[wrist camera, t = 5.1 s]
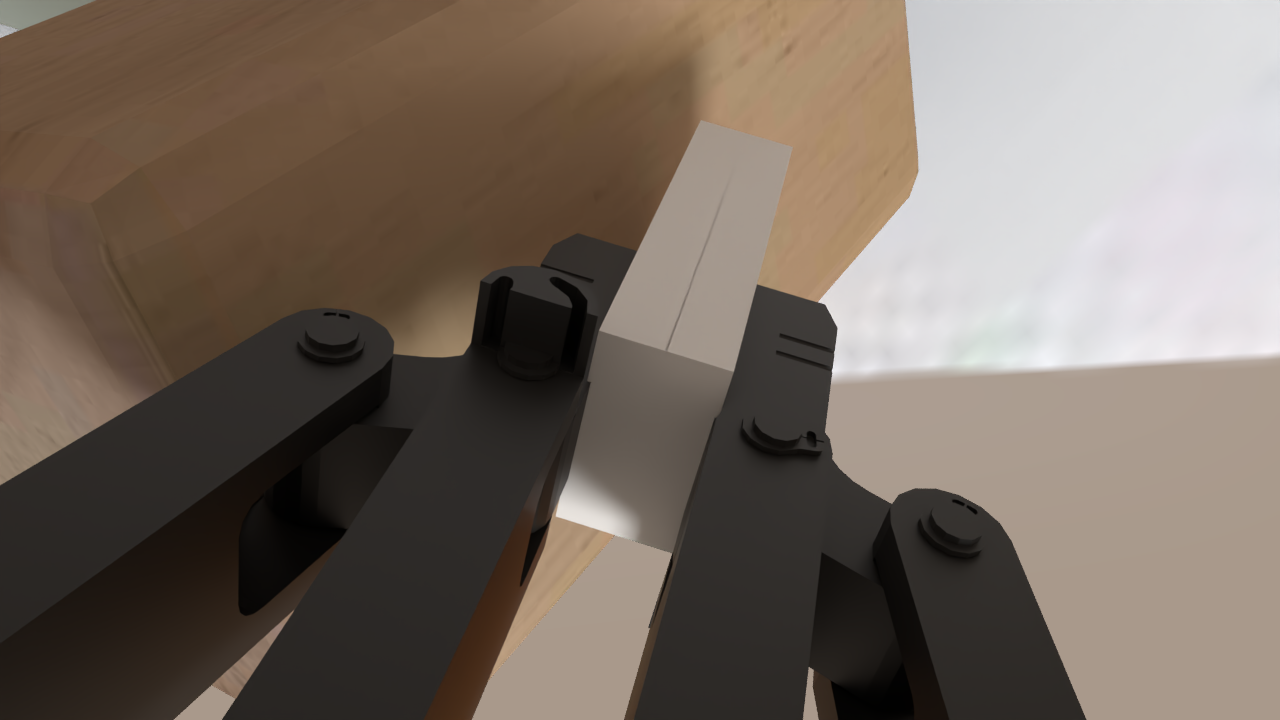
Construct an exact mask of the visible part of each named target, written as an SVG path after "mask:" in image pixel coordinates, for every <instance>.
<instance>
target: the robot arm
mask: <svg viewBox="0 0 1280 720" xmlns="http://www.w3.org/2000/svg"><path fill="white" fill-rule="evenodd" d="M792 148H793V147H791V146H788V145H784V144H781V143H777V142H774V141H771V140H767V139H764V138H760V137H757V136H754V135H750V134H747V133H743V132H740V131H736V130H733V129H730V128H726V127H723V126H719V125H716V124H712V123H709V122H706V121H702V120H701V121H700V123H699V125H698V127H697V129H696V131H695V133H694V135H693V137H692V139H691V141H690V144H689V146H688V148H687V150H686V152H685V154H684V156H683V158H682V160H681V162H680V164H679V166H678V168H677V170H676V172H675V175H674V177H673V179H672V181H671V183H670V185H669V187H668V189H667V191H666V193H665V195H664V197H663V199H662V201H661V203H660V205H659V208H658V210H657V212H656V214H655V216H654V218H653V220H652V222H651V224H650V226H649V228H648V230H647V232H646V234H645V236H644V238H643V241H642V243H641V245H640V247H639V249H638V251H636V250H632V249H629V248H626V247H622V246H619V245H616V244H612V243H609V242H606V241H602V240H599V239H596V238H592V237H589V236H586V235H582V234H579V233H577V234H575V235H573V236H570V237H568V238H566V239H564V240H562V241H560V242H558V243H556V244H554V245H553V246H552V247H551V249H550V250H549V252H548V253H547V255H546V257H545V258H544V260H543V261H542V263H541V266H540V267H536V266H510V267H506V268H502V269H499V270H495V271H492V272H491V273H490V274H488V275H487V276H486V277H485V278H483V279H482V280H481V281H480V287H479V294H478V300H477V307H476V313H475V319H474V326H473V332H472V339H471V344H470V345H469V347H468V348H467V350H466V351H465V353H464V354H463V355H459V356H451V357H420V356H410V355H400V354H393V352H394V340H393V339H392V337H391V335H390V334H389V332H388V330H387V329H386V328H385V327H384V326H382V325H381V324H379V323H378V322H376V321H375V320H374V319H372V318H371V317H368V316H365V315H362V314H359V313H356V312H353V311H350V310H342V309H333V308H319V309H310V310H302V311H299V312H297V313H294V314H292V315H289V316H286V317H284V318H282V319H280V320H278V321H277V322H275V323H273V324H272V325H270V326H268V327H267V328H265V329H263V330H261V331H260V332H258V333H256V334H255V335H253V336H251V337H250V338H248V339H246V340H245V341H243V342H241V343H239V344H238V345H236V346H234V347H233V348H231V349H229V350H228V351H226V352H224V353H223V354H221V355H219V356H218V357H216V358H214V359H212V360H211V361H209V362H207V363H206V364H204V365H202V366H201V367H199V368H197V369H196V370H194V371H192V372H191V373H189V374H187V375H185V376H184V377H182V378H180V379H179V380H177V381H175V382H174V383H172V384H170V385H169V386H167V387H165V388H163V389H162V390H160V391H158V392H157V393H155V394H153V395H152V396H150V397H148V398H147V399H145V400H143V401H142V402H140V403H138V404H136V405H135V406H133V407H131V408H130V409H128V410H126V411H125V412H123V413H121V414H120V415H118V416H116V417H114V418H113V419H111V420H109V421H108V422H106V423H104V424H103V425H101V426H99V427H98V428H96V429H94V430H93V431H91V432H89V433H87V434H86V435H84V436H82V437H81V438H79V439H77V440H76V441H74V442H72V443H71V444H69V445H67V446H66V447H64V448H62V449H60V450H59V451H57V452H55V453H54V454H52V455H50V456H49V457H47V458H45V459H44V460H42V461H40V462H38V463H37V464H35V465H33V466H32V467H30V468H28V469H27V470H25V471H23V472H22V473H20V474H18V475H17V476H15V477H13V478H11V479H10V480H8V481H6V482H5V483H3V484H1V485H0V720H174V719H175V718H176V717H177V716H178V715H179V714H180V713H181V712H182V711H183V710H185V709H186V708H187V707H188V706H189V705H190V704H191V703H192V702H193V701H194V700H196V699H197V698H198V697H199V696H200V695H201V694H202V693H203V692H204V691H205V690H206V689H208V688H209V687H210V686H211V685H212V684H213V683H214V682H215V681H216V680H218V679H219V678H220V677H221V676H222V675H223V674H224V673H225V672H226V671H227V670H229V669H230V668H231V667H232V666H233V665H234V664H235V663H236V662H237V661H238V660H240V659H241V658H242V657H243V656H244V655H245V654H246V653H247V652H248V651H249V650H250V649H252V648H253V647H254V646H255V645H256V644H257V643H258V642H259V641H260V640H261V639H263V638H264V637H265V636H266V635H267V634H268V633H269V632H270V631H271V630H272V629H274V628H275V627H276V626H277V625H278V624H279V623H280V622H281V621H282V620H283V619H285V618H286V617H287V616H288V615H289V614H290V613H291V612H292V611H293V610H294V609H295V610H294V611H293V613H292V614H291V616H290V618H289V619H288V621H287V622H286V624H285V625H284V627H283V628H282V630H281V631H280V633H279V634H278V636H277V637H276V639H275V640H274V642H273V643H272V645H271V646H270V648H269V649H268V651H267V652H266V654H265V655H264V657H263V658H262V660H261V661H260V663H259V664H258V666H257V667H256V669H255V670H254V672H253V674H252V675H251V677H250V678H249V680H248V681H247V683H246V684H245V686H244V687H243V689H242V690H241V692H240V693H239V695H238V696H237V698H236V699H235V701H234V703H233V704H232V705H231V707H230V709H229V710H228V711H227V713H226V715H225V716H224V717H223V719H222V720H472V718H473V715H474V713H475V711H476V708H477V706H478V704H479V701H480V699H481V696H482V694H483V692H484V689H485V687H486V685H487V682H488V680H489V678H490V675H491V673H492V670H493V668H494V666H495V663H496V661H497V659H498V656H499V654H500V651H501V649H502V647H503V644H504V642H505V640H506V637H507V635H508V633H509V630H510V628H511V625H512V623H513V621H514V618H515V616H516V614H517V611H518V609H519V607H520V604H521V602H522V599H523V597H524V595H525V592H526V590H527V588H528V585H529V583H530V580H531V578H532V576H533V573H534V571H535V569H536V566H537V564H538V562H539V559H540V557H541V554H542V552H543V550H544V547H545V544H546V540H547V535H548V531H549V527H550V522H551V518H552V514H553V512H554V510H555V507H556V505H557V503H558V501H559V504H558V508H557V512H556V517H559V518H563V519H566V520H569V521H572V522H575V523H578V524H581V525H585V526H588V527H591V528H594V529H597V530H600V531H604V532H607V533H610V534H613V535H616V536H619V537H623V538H626V539H629V540H632V541H635V542H638V543H641V544H645V545H648V546H651V547H654V548H657V549H660V550H664V551H667V552H670V553H672V556H671V559H670V562H669V566H668V569H667V572H666V575H665V578H664V581H663V584H662V587H661V590H660V594H659V597H658V600H657V602H656V606H655V609H654V612H653V615H652V618H651V621H650V624H649V628H650V630H649V633H648V637H647V641H646V644H645V648H644V651H643V655H642V658H641V662H640V665H639V669H638V672H637V676H636V679H635V683H634V686H633V690H632V693H631V697H630V701H629V704H628V708H627V711H626V715H625V719H624V720H803V712H804V704H805V695H806V694H805V693H806V686H807V676H808V667H810V668H812V669H813V670H814V676H813V690H814V695H815V701H816V706H817V712H818V718H819V720H1086V718H1085V715H1084V713H1083V711H1082V708H1081V706H1080V703H1079V701H1078V699H1077V696H1076V694H1075V692H1074V689H1073V687H1072V684H1071V682H1070V680H1069V677H1068V675H1067V672H1066V671H1065V668H1064V666H1063V663H1062V661H1061V658H1060V656H1059V654H1058V651H1057V649H1056V646H1055V644H1054V642H1053V639H1052V637H1051V634H1050V632H1049V630H1048V627H1047V625H1046V622H1045V620H1044V618H1043V615H1042V613H1041V611H1040V608H1039V606H1038V603H1037V601H1036V599H1035V596H1034V594H1033V592H1032V589H1031V587H1030V584H1029V582H1028V580H1027V577H1026V575H1025V572H1024V570H1023V568H1022V565H1021V563H1020V560H1019V558H1018V556H1017V553H1016V551H1015V549H1014V546H1013V544H1012V541H1011V540H1010V538H1009V537H1008V535H1007V534H1006V532H1005V531H1004V529H1003V527H1002V526H1001V525H1000V523H999V522H998V521H997V520H995V519H994V518H993V517H992V516H991V515H990V514H989V513H987V512H986V511H985V510H984V509H983V508H982V507H980V506H978V505H976V504H974V503H972V502H971V501H969V500H967V499H965V498H963V497H961V496H959V495H956V494H952V493H949V492H946V491H942V490H938V489H912V490H910V491H907V492H905V493H902V494H900V495H898V497H897V498H896V500H895V501H894V502H893V504H891V503H889V502H887V501H885V500H883V499H881V498H880V497H878V496H876V495H874V494H872V493H871V492H869V491H867V490H866V489H864V488H863V487H861V486H860V485H858V484H857V483H855V482H853V481H852V480H851V479H850V478H849V477H848V476H847V475H846V474H844V473H843V472H842V471H841V470H840V469H839V468H838V466H837V465H836V464H835V462H834V461H833V460H832V455H833V453H832V449H831V444H830V439H829V437H828V436H827V435H826V433H825V426H826V418H827V410H828V402H829V394H830V385H831V377H832V368H833V361H834V351H835V344H836V336H837V326H836V324H835V323H834V321H833V319H832V317H831V315H830V313H829V311H828V309H827V307H826V306H825V305H824V304H821V303H818V302H815V301H811V300H808V299H805V298H801V297H798V296H795V295H791V294H788V293H785V292H781V291H778V290H775V289H771V288H768V287H765V286H761V285H758V284H757V282H758V278H759V274H760V270H761V267H762V263H763V259H764V255H765V251H766V247H767V244H768V240H769V236H770V232H771V228H772V225H773V221H774V217H775V213H776V209H777V206H778V202H779V198H780V194H781V190H782V187H783V183H784V179H785V175H786V171H787V167H788V164H789V160H790V156H791V152H792ZM559 498H560V499H559Z"/></svg>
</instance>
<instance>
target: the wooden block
mask: <svg viewBox="0 0 1280 720" xmlns="http://www.w3.org/2000/svg"><path fill="white" fill-rule="evenodd" d="M701 120H702V121H706V122H709V123H712V124H716V125H719V126H723V127H726V128H730V129H733V130H736V131H740V132H743V133H747V134H750V135H754V136H757V137H760V138H764V139H767V140H771V141H774V142H777V143H781V144H784V145H788V146H791V147H793V148H792V152H791V156H790V160H789V164H788V167H787V171H786V175H785V179H784V183H783V187H782V190H781V194H780V198H779V202H778V206H777V209H776V213H775V217H774V221H773V225H772V228H771V232H770V236H769V240H768V244H767V247H766V251H765V255H764V259H763V263H762V267H761V270H760V274H759V278H758V282H757V284H758V285H761V286H765V287H768V288H771V289H775V290H778V291H781V292H785V293H788V294H791V295H795V296H798V297H801V298H805V299H808V300H811V301H815V302H818V301H819V300H820V299H821V298H822V296H823V295H824V294H825V293H826V292H827V291H828V289H829V288H830V287H831V286H832V285H833V284H834V283H835V281H836V280H837V279H838V278H839V277H840V276H841V275H842V273H843V272H844V271H845V270H846V269H847V268H848V266H849V265H850V264H851V263H852V262H853V261H854V260H855V258H856V257H857V256H858V255H859V254H860V253H861V252H862V250H863V249H864V248H865V247H866V246H867V245H868V243H869V242H870V241H871V240H872V239H873V238H874V237H875V235H876V234H877V233H878V232H879V231H880V230H881V229H882V227H883V226H884V225H885V224H886V223H887V222H888V221H889V219H890V218H891V217H892V216H893V215H894V214H895V212H896V211H897V210H898V209H899V208H900V207H901V206H902V204H903V203H904V202H905V201H906V200H907V199H908V198H909V196H910V193H911V191H912V188H913V185H914V182H915V179H916V177H917V174H918V151H917V139H916V127H915V115H914V103H913V91H912V79H911V67H910V55H909V43H908V31H907V19H906V7H905V0H96V1H93V2H91V3H88V4H86V5H83V6H80V7H78V8H75V9H73V10H70V11H68V12H65V13H63V14H60V15H58V16H55V17H53V18H50V19H47V20H45V21H42V22H40V23H37V24H35V25H32V26H30V27H27V28H25V29H22V30H20V31H17V32H14V33H12V34H9V35H7V36H4V37H2V38H0V485H1V484H3V483H5V482H6V481H8V480H10V479H11V478H13V477H15V476H17V475H18V474H20V473H22V472H23V471H25V470H27V469H28V468H30V467H32V466H33V465H35V464H37V463H38V462H40V461H42V460H44V459H45V458H47V457H49V456H50V455H52V454H54V453H55V452H57V451H59V450H60V449H62V448H64V447H66V446H67V445H69V444H71V443H72V442H74V441H76V440H77V439H79V438H81V437H82V436H84V435H86V434H87V433H89V432H91V431H93V430H94V429H96V428H98V427H99V426H101V425H103V424H104V423H106V422H108V421H109V420H111V419H113V418H114V417H116V416H118V415H120V414H121V413H123V412H125V411H126V410H128V409H130V408H131V407H133V406H135V405H136V404H138V403H140V402H142V401H143V400H145V399H147V398H148V397H150V396H152V395H153V394H155V393H157V392H158V391H160V390H162V389H163V388H165V387H167V386H169V385H170V384H172V383H174V382H175V381H177V380H179V379H180V378H182V377H184V376H185V375H187V374H189V373H191V372H192V371H194V370H196V369H197V368H199V367H201V366H202V365H204V364H206V363H207V362H209V361H211V360H212V359H214V358H216V357H218V356H219V355H221V354H223V353H224V352H226V351H228V350H229V349H231V348H233V347H234V346H236V345H238V344H239V343H241V342H243V341H245V340H246V339H248V338H250V337H251V336H253V335H255V334H256V333H258V332H260V331H261V330H263V329H265V328H267V327H268V326H270V325H272V324H273V323H275V322H277V321H278V320H280V319H282V318H284V317H286V316H289V315H292V314H294V313H297V312H299V311H302V310H310V309H319V308H333V309H342V310H350V311H353V312H356V313H359V314H362V315H365V316H368V317H371V318H372V319H374V320H375V321H376V322H378V323H379V324H381V325H382V326H384V327H385V328H386V329H387V330H388V332H389V334H390V335H391V337H392V339H393V340H394V352H393V354H400V355H410V356H420V357H451V356H459V355H463V354H464V353H465V351H466V350H467V348H468V347H469V345H470V344H471V339H472V332H473V326H474V319H475V313H476V307H477V300H478V294H479V287H480V281H481V280H482V279H483V278H485V277H486V276H487V275H488V274H490V273H491V272H492V271H495V270H499V269H502V268H506V267H510V266H536V267H540V266H541V263H542V261H543V260H544V258H545V257H546V255H547V253H548V252H549V250H550V249H551V247H552V246H553V245H554V244H556V243H558V242H560V241H562V240H564V239H566V238H568V237H570V236H573V235H575V234H577V233H579V234H582V235H586V236H589V237H592V238H596V239H599V240H602V241H606V242H609V243H612V244H616V245H619V246H622V247H626V248H629V249H632V250H636V251H638V249H639V247H640V245H641V243H642V241H643V238H644V236H645V234H646V232H647V230H648V228H649V226H650V224H651V222H652V220H653V218H654V216H655V214H656V212H657V210H658V208H659V205H660V203H661V201H662V199H663V197H664V195H665V193H666V191H667V189H668V187H669V185H670V183H671V181H672V179H673V177H674V175H675V172H676V170H677V168H678V166H679V164H680V162H681V160H682V158H683V156H684V154H685V152H686V150H687V148H688V146H689V144H690V141H691V139H692V137H693V135H694V133H695V131H696V129H697V127H698V125H699V123H700V121H701ZM559 499H560V498H559ZM558 504H559V501H558V503H557V505H556V507H555V510H554V512H553V514H552V518H551V522H550V527H549V531H548V535H547V540H546V544H545V547H544V550H543V552H542V554H541V557H540V559H539V562H538V564H537V566H536V569H535V571H534V573H533V576H532V578H531V580H530V583H529V585H528V588H527V590H526V592H525V595H524V597H523V599H522V602H521V604H520V607H519V609H518V611H517V614H516V616H515V618H514V621H513V623H512V625H511V628H510V630H509V633H508V635H507V637H506V640H505V642H504V644H503V647H502V649H501V651H500V654H499V656H498V659H497V661H496V663H495V666H494V668H493V670H492V673H491V675H490V678H491V677H492V676H493V675H494V673H495V672H496V671H497V670H498V669H499V668H500V667H501V665H502V664H503V663H504V662H505V661H506V660H507V658H508V657H509V656H510V655H511V654H512V653H513V652H514V650H515V649H516V648H517V647H518V646H519V645H520V644H521V642H522V641H523V640H524V639H525V638H526V637H527V636H528V634H529V633H530V632H531V631H532V630H533V629H534V627H535V626H536V625H537V624H538V623H539V621H540V620H541V619H542V618H543V617H544V616H545V615H546V614H547V612H548V611H549V610H550V609H551V608H552V607H553V606H554V604H555V603H556V602H557V601H558V600H559V599H560V598H561V596H562V595H563V594H564V593H565V592H566V591H567V590H568V588H569V587H570V586H571V585H572V584H573V583H574V582H575V580H576V579H577V578H578V577H579V576H580V575H581V573H582V572H583V571H584V570H585V569H586V568H587V567H588V565H589V564H590V563H591V562H592V561H593V560H594V558H595V557H596V556H597V555H598V554H599V553H600V552H601V550H602V549H603V548H604V547H605V546H606V545H607V544H608V542H609V541H610V540H611V539H612V537H614V536H615V535H613V534H610V533H607V532H604V531H600V530H597V529H594V528H591V527H588V526H585V525H581V524H578V523H575V522H572V521H569V520H566V519H563V518H559V517H556V512H557V508H558ZM294 610H295V609H294ZM294 610H293V611H294ZM293 611H292V612H291V613H290V614H289V615H288V616H287V617H286V618H285V619H283V620H282V621H281V622H280V623H279V624H278V625H277V626H276V627H275V628H274V629H272V630H271V631H270V632H269V633H268V634H267V635H266V636H265V637H264V638H263V639H261V640H260V641H259V642H258V643H257V644H256V645H255V646H254V647H253V648H252V649H250V650H249V651H248V652H247V653H246V654H245V655H244V656H243V657H242V658H241V659H240V660H238V661H237V662H236V663H235V664H234V665H233V666H232V667H231V668H230V669H229V670H227V671H226V672H225V673H224V674H223V675H222V676H221V677H220V678H219V679H218V680H216V681H215V682H214V683H213V684H212V686H214V687H216V688H218V689H219V690H221V691H223V692H225V693H226V694H228V695H230V696H232V697H234V698H235V699H236V698H237V696H238V695H239V693H240V692H241V690H242V689H243V687H244V686H245V684H246V683H247V681H248V680H249V678H250V677H251V675H252V674H253V672H254V670H255V669H256V667H257V666H258V664H259V663H260V661H261V660H262V658H263V657H264V655H265V654H266V652H267V651H268V649H269V648H270V646H271V645H272V643H273V642H274V640H275V639H276V637H277V636H278V634H279V633H280V631H281V630H282V628H283V627H284V625H285V624H286V622H287V621H288V619H289V618H290V616H291V614H292V613H293ZM490 678H489V679H490Z"/></svg>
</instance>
